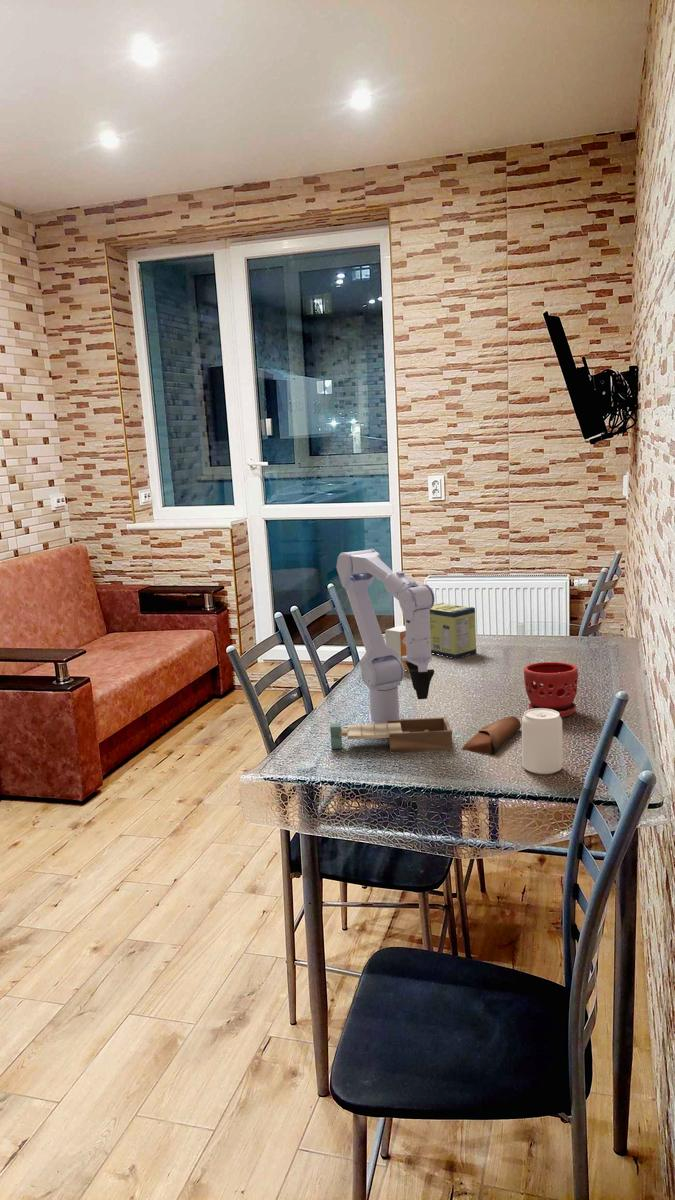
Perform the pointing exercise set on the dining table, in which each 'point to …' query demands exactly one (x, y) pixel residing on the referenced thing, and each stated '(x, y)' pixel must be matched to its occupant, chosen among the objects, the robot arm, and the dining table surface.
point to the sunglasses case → (493, 736)
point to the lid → (361, 732)
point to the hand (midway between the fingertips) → (420, 694)
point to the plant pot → (552, 686)
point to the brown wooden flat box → (421, 735)
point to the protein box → (452, 630)
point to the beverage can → (542, 741)
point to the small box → (397, 642)
